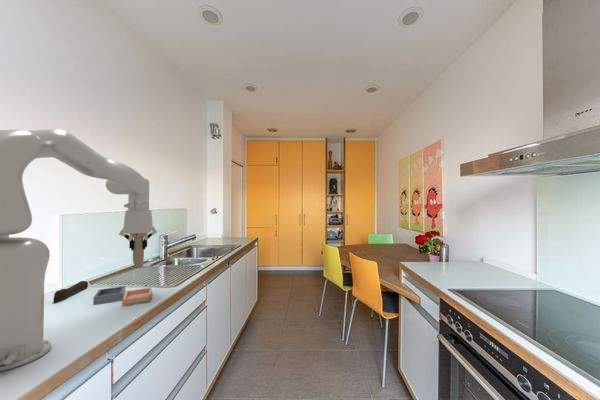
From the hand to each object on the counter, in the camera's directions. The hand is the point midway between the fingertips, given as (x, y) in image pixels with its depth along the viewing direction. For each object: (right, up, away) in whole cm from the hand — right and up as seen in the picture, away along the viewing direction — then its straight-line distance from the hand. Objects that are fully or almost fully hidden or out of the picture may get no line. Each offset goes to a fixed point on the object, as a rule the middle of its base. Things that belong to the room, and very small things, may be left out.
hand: (138, 249), depth 106 cm
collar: (-13, -21, +1) cm, 25 cm away
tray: (0, -21, 0) cm, 21 cm away
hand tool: (-33, -22, +4) cm, 40 cm away
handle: (0, -8, 0) cm, 8 cm away
